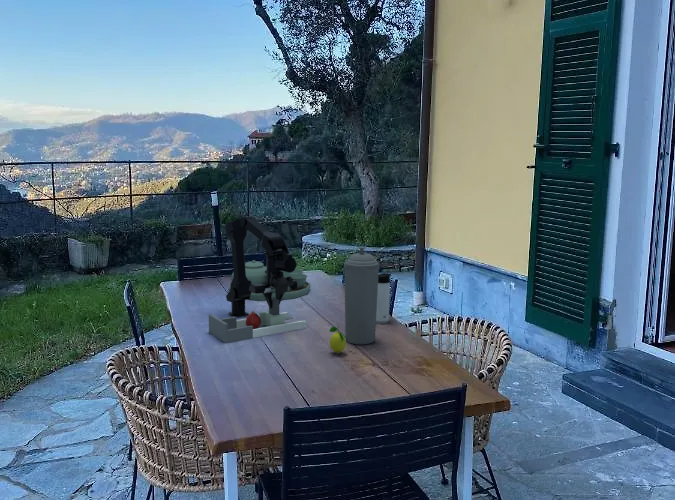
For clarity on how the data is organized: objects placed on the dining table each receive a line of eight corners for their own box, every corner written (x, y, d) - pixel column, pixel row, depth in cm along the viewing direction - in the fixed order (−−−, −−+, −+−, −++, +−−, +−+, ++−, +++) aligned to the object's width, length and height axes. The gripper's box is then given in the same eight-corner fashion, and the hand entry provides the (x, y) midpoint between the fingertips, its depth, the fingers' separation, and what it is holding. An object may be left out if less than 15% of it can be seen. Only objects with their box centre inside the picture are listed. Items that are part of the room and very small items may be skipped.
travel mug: (388, 324, 242) (390, 275, 238) (372, 323, 243) (373, 274, 240) (390, 320, 248) (391, 272, 244) (374, 318, 249) (375, 271, 246)
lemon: (329, 350, 210) (329, 322, 209) (345, 350, 210) (346, 322, 208) (328, 356, 204) (328, 328, 202) (345, 356, 203) (346, 328, 202)
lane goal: (208, 332, 228) (208, 314, 227) (286, 319, 247) (286, 302, 246) (225, 343, 216) (224, 324, 215) (305, 328, 235) (306, 310, 234)
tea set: (325, 289, 301) (325, 256, 299) (275, 306, 268) (275, 270, 265) (263, 279, 322) (263, 248, 319) (210, 293, 289) (209, 260, 286)
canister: (381, 345, 216) (383, 249, 210) (346, 346, 214) (347, 250, 208) (373, 334, 228) (375, 243, 222) (340, 335, 226) (341, 244, 220)
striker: (259, 324, 237) (258, 297, 235) (285, 320, 244) (285, 293, 242) (271, 331, 229) (271, 303, 227) (298, 326, 236) (298, 299, 234)
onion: (246, 328, 233) (246, 309, 232) (261, 328, 234) (261, 308, 232) (245, 333, 227) (245, 313, 226) (260, 333, 228) (260, 312, 226)
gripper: (261, 274, 220) (262, 316, 222) (305, 269, 230) (305, 309, 233) (248, 269, 229) (248, 309, 231) (290, 264, 239) (290, 302, 242)
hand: (274, 307), depth 234 cm, fingers open, 3 cm apart
